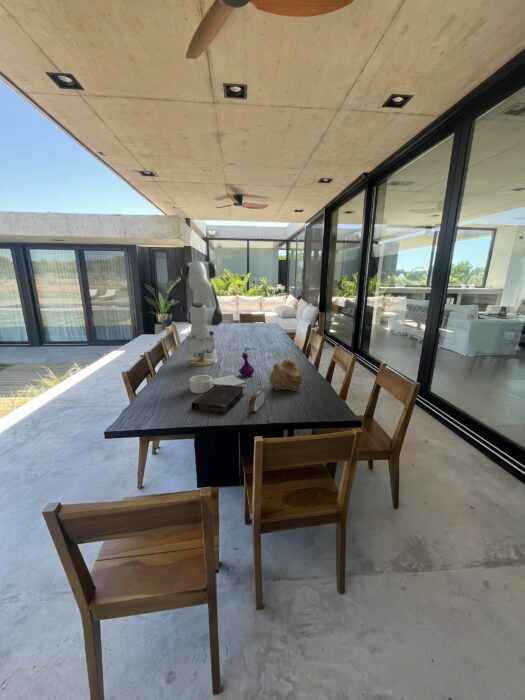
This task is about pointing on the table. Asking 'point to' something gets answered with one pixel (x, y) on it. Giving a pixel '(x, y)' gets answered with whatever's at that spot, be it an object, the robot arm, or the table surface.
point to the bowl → (201, 383)
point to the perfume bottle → (246, 366)
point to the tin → (257, 400)
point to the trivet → (228, 380)
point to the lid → (200, 361)
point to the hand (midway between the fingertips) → (200, 358)
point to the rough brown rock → (285, 376)
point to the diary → (219, 399)
